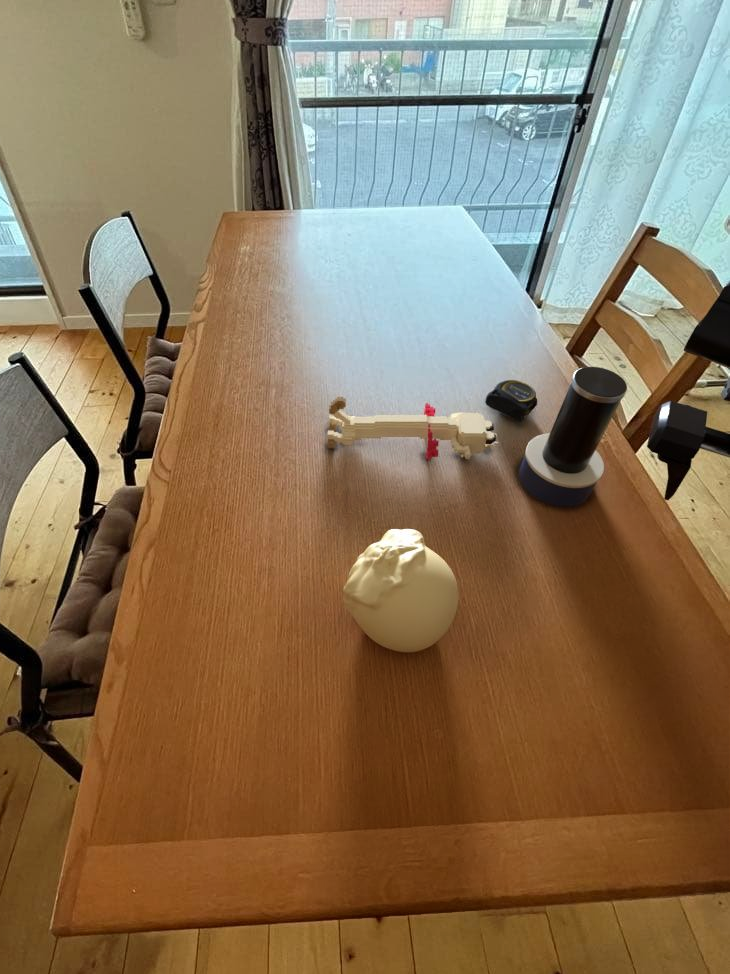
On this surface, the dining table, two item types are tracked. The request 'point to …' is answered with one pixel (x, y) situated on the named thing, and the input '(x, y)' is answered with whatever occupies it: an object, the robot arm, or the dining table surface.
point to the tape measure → (512, 399)
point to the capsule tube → (583, 418)
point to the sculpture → (401, 592)
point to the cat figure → (414, 429)
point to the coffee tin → (557, 477)
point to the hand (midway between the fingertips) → (713, 513)
